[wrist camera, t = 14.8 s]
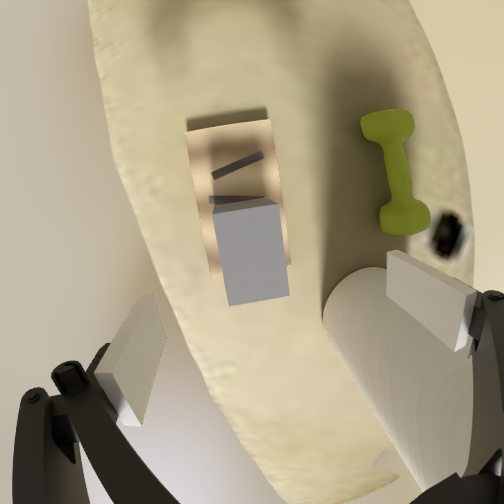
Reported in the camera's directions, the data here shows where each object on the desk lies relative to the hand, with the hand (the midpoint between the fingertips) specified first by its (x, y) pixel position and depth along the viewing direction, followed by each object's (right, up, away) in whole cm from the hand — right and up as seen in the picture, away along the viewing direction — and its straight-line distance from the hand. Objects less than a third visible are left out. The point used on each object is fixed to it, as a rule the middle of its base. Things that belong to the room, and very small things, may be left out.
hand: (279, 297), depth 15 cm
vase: (+16, -6, +26) cm, 31 cm away
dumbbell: (+17, +14, +21) cm, 31 cm away
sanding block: (-2, +4, +19) cm, 20 cm away
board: (-3, +9, +20) cm, 22 cm away
